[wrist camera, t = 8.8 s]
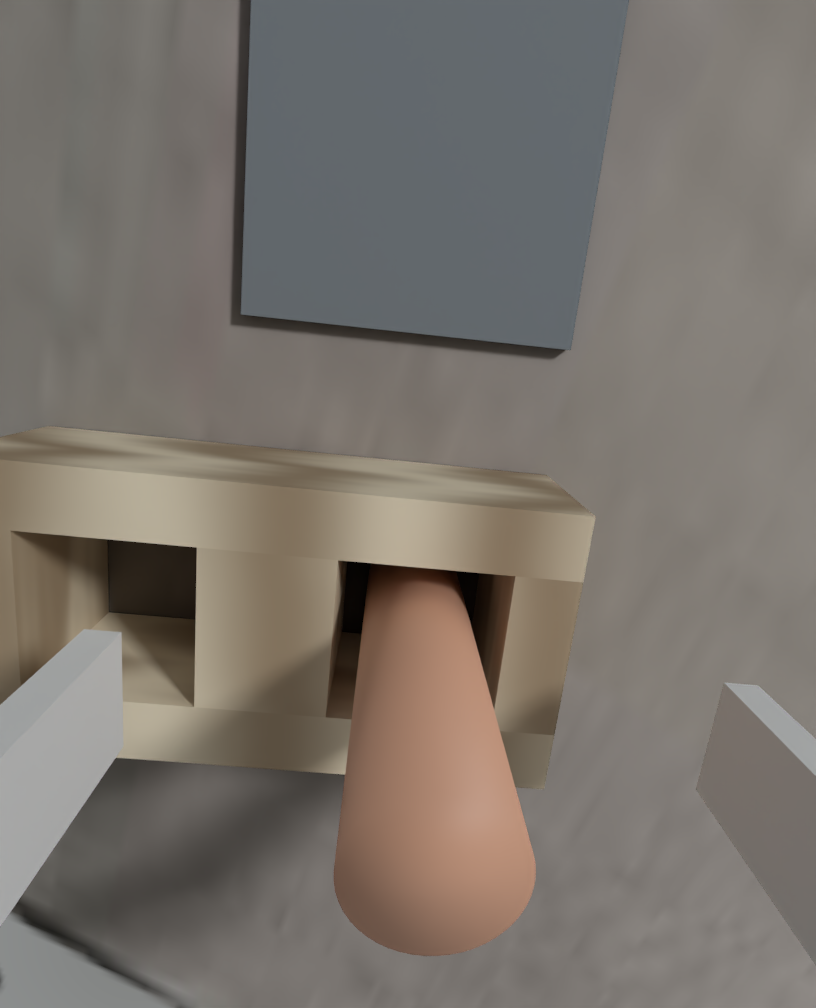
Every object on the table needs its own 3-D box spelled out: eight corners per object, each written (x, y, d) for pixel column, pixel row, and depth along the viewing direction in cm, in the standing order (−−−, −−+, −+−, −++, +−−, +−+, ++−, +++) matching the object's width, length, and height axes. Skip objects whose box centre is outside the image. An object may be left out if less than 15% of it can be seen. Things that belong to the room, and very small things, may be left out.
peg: (365, 614, 21) (327, 950, 9) (372, 531, 20) (341, 784, 8) (450, 621, 21) (519, 961, 9) (461, 539, 20) (550, 799, 9)
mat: (244, 315, 18) (240, 314, 18) (257, -82, 16) (254, -93, 15) (567, 350, 19) (570, 350, 18) (629, -30, 16) (635, -40, 16)
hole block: (59, 653, 21) (-42, 745, 16) (48, 425, 19) (-71, 453, 14) (510, 690, 22) (543, 789, 17) (546, 475, 20) (595, 516, 15)
